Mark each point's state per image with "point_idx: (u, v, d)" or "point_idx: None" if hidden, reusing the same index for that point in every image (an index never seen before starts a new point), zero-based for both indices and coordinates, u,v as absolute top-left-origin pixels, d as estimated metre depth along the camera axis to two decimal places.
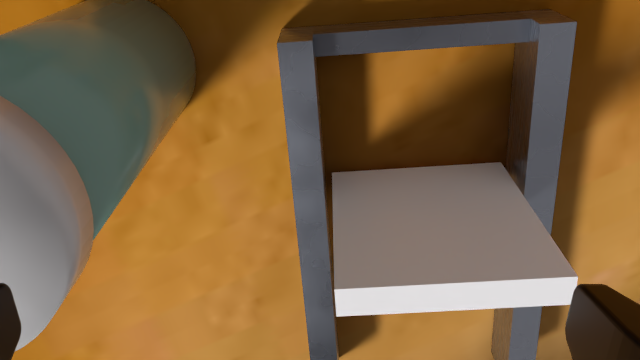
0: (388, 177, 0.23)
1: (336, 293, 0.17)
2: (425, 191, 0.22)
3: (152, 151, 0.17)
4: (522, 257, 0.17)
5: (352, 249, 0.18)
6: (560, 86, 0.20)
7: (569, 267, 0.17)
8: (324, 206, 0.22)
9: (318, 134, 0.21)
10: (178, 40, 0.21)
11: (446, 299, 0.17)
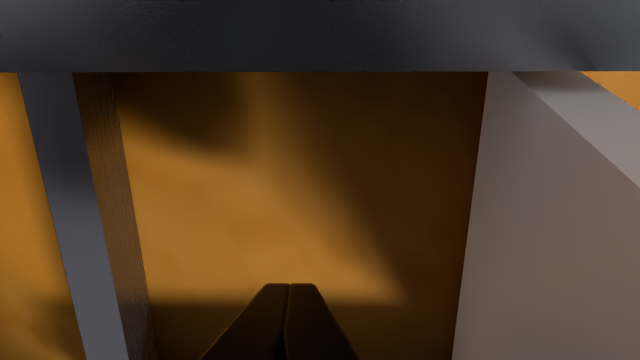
0: (470, 312, 0.11)
1: None
2: (498, 303, 0.09)
3: None
4: None
5: None
6: None
7: None
8: None
9: None
10: None
11: None
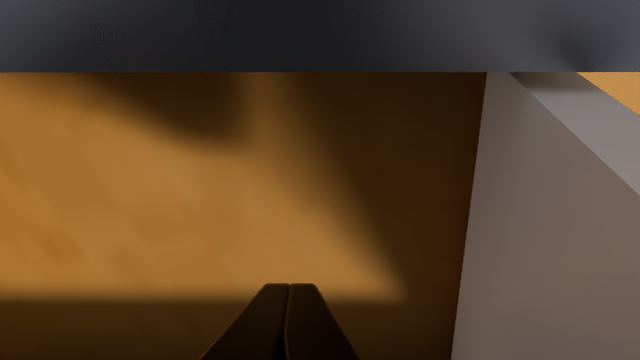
0: (469, 310, 0.11)
1: None
2: (496, 301, 0.09)
3: None
4: None
5: None
6: None
7: None
8: None
9: None
10: None
11: None
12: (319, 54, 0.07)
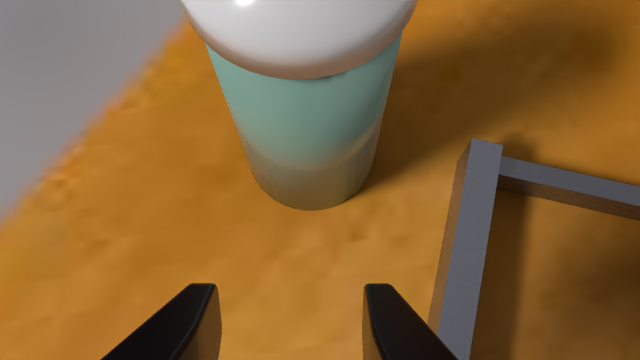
0: None
1: None
2: None
3: (366, 137, 0.18)
4: None
5: None
6: None
7: None
8: (475, 310, 0.20)
9: (488, 228, 0.21)
10: None
11: None
12: None
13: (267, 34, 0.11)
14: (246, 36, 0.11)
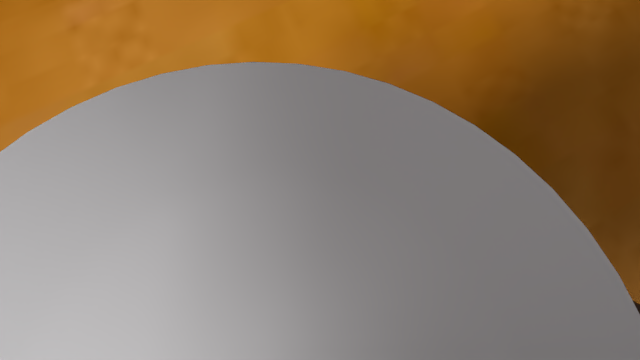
0: None
1: None
2: None
3: None
4: None
5: None
6: None
7: None
8: None
9: None
10: None
11: None
12: None
13: None
14: None
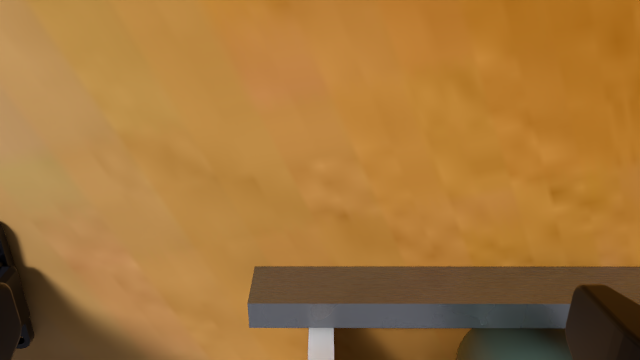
0: None
1: None
2: None
3: None
4: None
5: None
6: None
7: None
8: (502, 326, 0.23)
9: None
10: None
11: None
12: None
13: None
14: None
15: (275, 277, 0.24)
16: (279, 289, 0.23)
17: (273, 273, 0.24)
